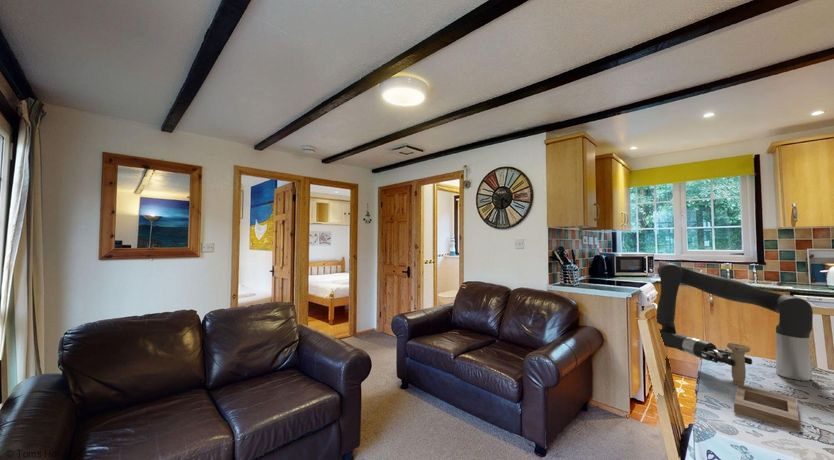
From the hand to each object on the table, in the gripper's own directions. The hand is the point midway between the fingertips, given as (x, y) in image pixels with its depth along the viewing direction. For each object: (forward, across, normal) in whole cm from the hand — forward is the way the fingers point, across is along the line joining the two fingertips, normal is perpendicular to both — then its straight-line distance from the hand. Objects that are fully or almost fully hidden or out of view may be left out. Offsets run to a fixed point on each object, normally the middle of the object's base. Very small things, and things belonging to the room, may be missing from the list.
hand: (743, 362), depth 126 cm
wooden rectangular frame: (+14, -13, +9) cm, 21 cm away
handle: (-2, 0, +9) cm, 9 cm away
